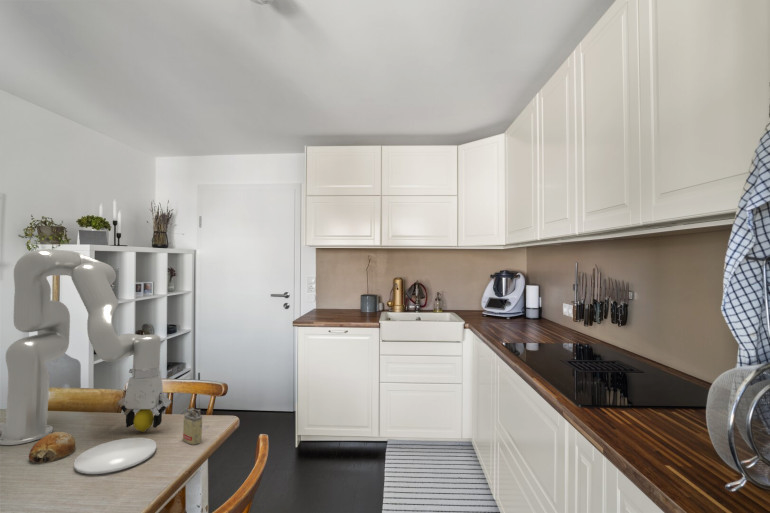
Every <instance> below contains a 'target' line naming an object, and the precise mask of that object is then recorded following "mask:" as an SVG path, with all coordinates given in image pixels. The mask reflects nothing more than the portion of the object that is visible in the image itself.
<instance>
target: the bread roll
mask: <svg viewBox="0 0 770 513" xmlns="http://www.w3.org/2000/svg"><path fill="white" fill-rule="evenodd" d="M76 447H77V446H76V439H75V438H74V437H73V435H71V434H70V433H68V432H65V431H54V432H51V433H50V434H49V435H47V436H45V437H43V438H41V439H38V440H37V442H35V444H34V445H33V446H32V447H31V448H30V452H29V454H28V459H29V461H30V462H31V463H34V464H45V463H50V462H54V461H57V460H61V459H65V457H67V456H70V455H71V454H72V453H73V452H75V450H76Z"/></svg>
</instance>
